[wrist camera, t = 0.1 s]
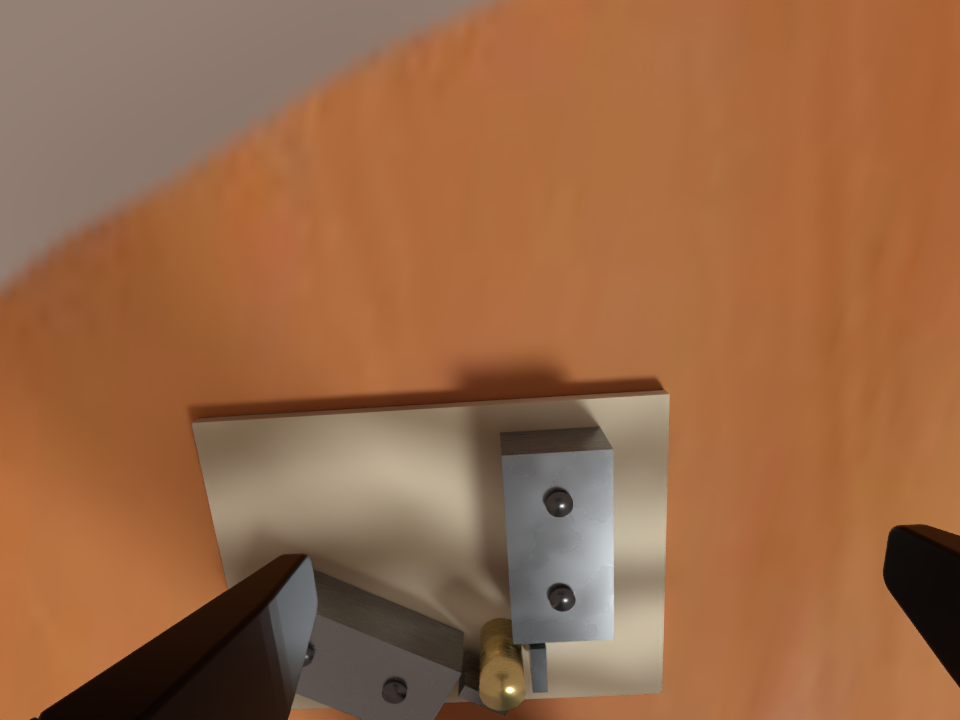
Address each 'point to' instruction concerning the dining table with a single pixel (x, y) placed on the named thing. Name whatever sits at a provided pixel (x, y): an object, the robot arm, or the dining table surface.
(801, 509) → the dining table surface
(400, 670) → the gray two-knob panel
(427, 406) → the mounting board
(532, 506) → the hinge base
